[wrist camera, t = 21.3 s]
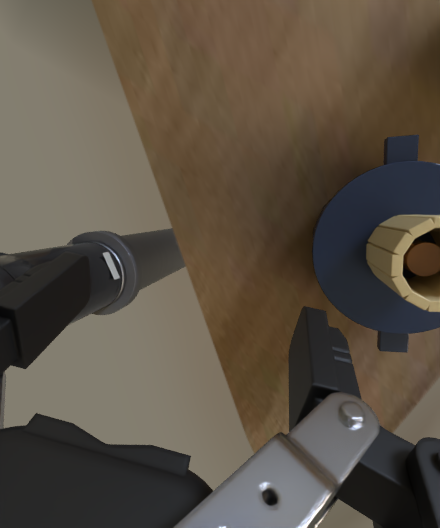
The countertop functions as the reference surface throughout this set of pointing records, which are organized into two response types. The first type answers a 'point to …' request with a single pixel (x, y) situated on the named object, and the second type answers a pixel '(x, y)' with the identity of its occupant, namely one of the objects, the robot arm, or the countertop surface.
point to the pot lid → (356, 238)
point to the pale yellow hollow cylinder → (391, 258)
